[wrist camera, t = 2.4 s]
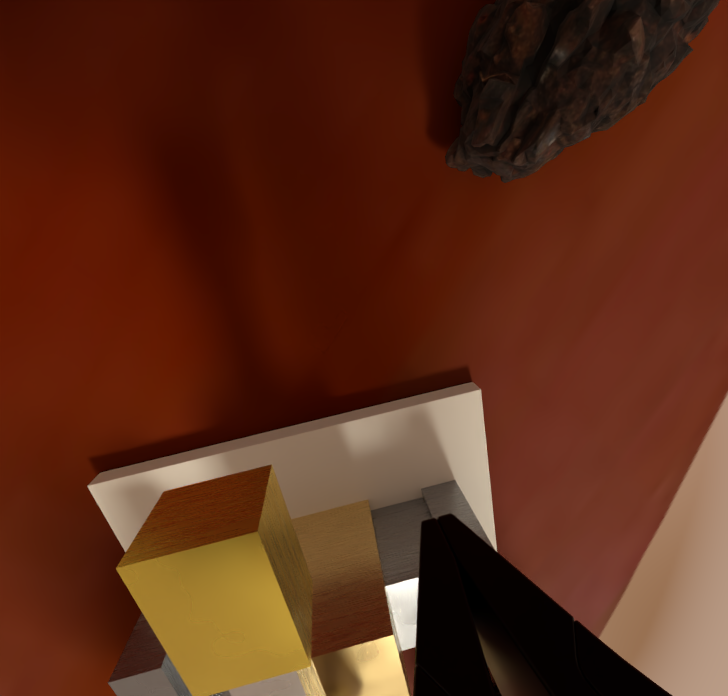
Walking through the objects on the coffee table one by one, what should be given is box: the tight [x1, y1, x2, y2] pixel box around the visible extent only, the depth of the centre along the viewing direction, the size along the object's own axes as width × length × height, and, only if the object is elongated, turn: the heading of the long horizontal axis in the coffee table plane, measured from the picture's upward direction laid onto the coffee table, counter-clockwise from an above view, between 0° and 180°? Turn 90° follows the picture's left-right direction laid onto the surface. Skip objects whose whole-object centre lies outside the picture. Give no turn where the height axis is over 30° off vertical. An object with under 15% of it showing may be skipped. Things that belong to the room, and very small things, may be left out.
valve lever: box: [116, 464, 326, 696], centre depth 10 cm, size 14×3×3 cm, turn 11°
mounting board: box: [87, 382, 497, 552], centre depth 20 cm, size 15×20×1 cm
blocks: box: [108, 480, 495, 696], centre depth 16 cm, size 6×16×7 cm, turn 101°
